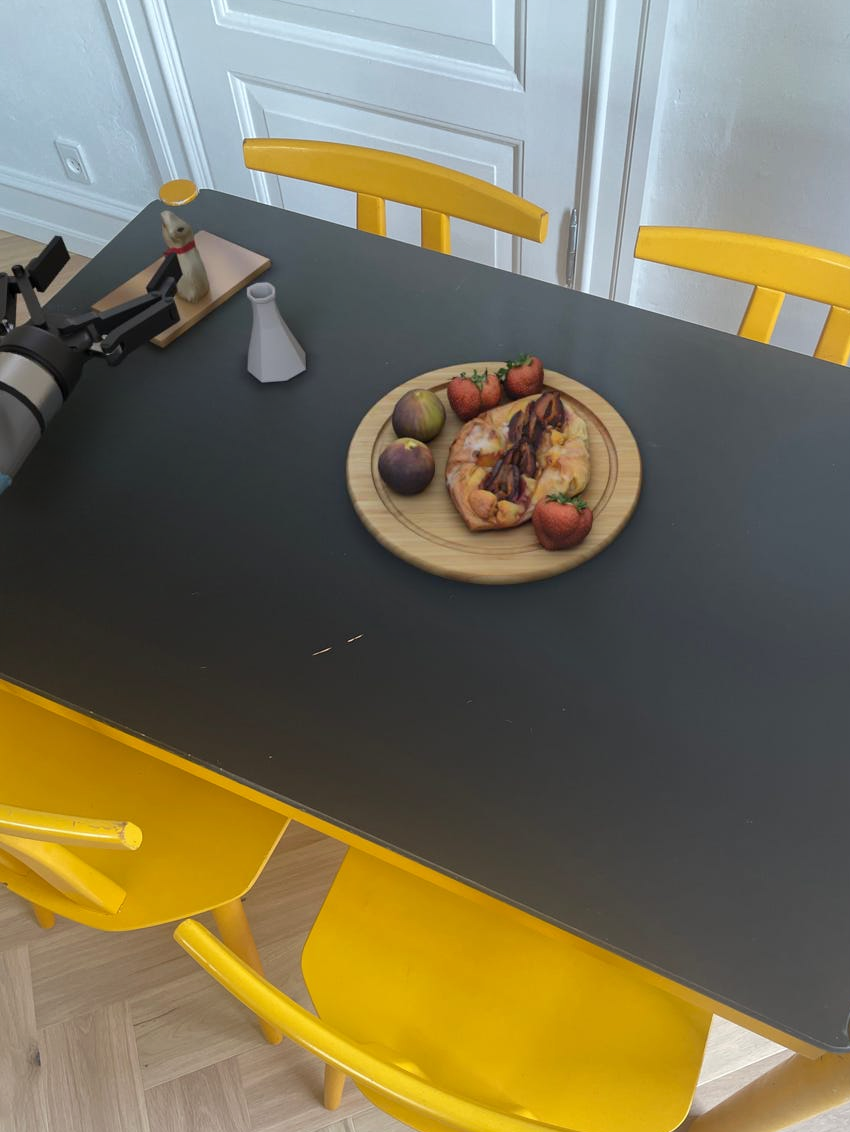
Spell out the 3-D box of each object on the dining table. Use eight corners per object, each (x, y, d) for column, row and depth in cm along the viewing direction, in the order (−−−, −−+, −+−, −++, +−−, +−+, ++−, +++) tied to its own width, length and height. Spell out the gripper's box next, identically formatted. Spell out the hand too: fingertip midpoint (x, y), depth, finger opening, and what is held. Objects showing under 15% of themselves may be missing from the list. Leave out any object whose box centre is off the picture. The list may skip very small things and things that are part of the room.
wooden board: (163, 348, 108) (160, 341, 107) (93, 313, 111) (90, 306, 111) (271, 266, 117) (269, 259, 116) (203, 236, 121) (201, 229, 120)
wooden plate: (687, 552, 91) (705, 497, 84) (383, 622, 86) (376, 569, 79) (581, 355, 108) (589, 295, 101) (322, 403, 103) (311, 344, 96)
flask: (315, 373, 106) (302, 300, 97) (257, 391, 104) (238, 318, 95) (296, 338, 109) (281, 264, 101) (239, 354, 107) (219, 280, 99)
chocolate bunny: (221, 267, 115) (202, 193, 107) (200, 305, 111) (178, 230, 102) (180, 263, 116) (158, 188, 107) (158, 300, 111) (133, 225, 103)
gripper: (-68, 390, 92) (30, 269, 104) (157, 427, 90) (232, 299, 101) (-107, 329, 86) (2, 208, 98) (133, 368, 84) (216, 239, 95)
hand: (119, 254), depth 99 cm, fingers open, 13 cm apart
